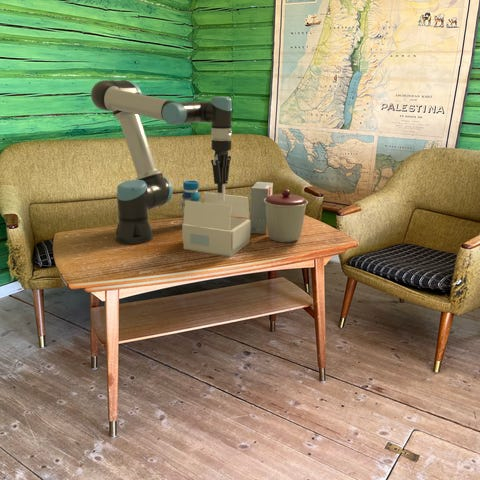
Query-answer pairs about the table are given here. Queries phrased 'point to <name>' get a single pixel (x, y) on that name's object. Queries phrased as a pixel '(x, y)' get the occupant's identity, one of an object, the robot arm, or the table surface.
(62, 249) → the table surface
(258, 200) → the hard drive box
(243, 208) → the flap far
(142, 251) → the table surface
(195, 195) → the beverage bottle
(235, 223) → the carton
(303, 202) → the canister
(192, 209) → the flap near
